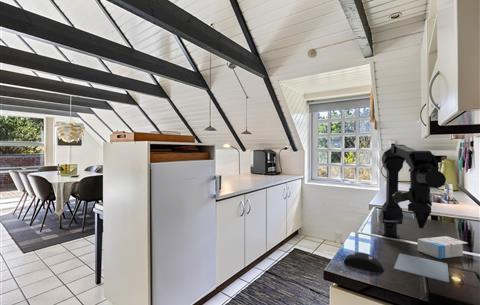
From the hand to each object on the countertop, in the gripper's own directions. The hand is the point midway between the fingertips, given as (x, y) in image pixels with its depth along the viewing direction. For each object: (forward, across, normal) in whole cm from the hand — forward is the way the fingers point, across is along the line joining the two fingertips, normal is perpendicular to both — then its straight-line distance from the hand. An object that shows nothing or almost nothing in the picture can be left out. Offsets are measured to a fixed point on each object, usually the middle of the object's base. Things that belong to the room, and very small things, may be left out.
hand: (421, 228), depth 85 cm
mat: (+12, +5, 0) cm, 13 cm away
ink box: (+10, -9, +1) cm, 13 cm away
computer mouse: (+12, +17, -16) cm, 26 cm away
